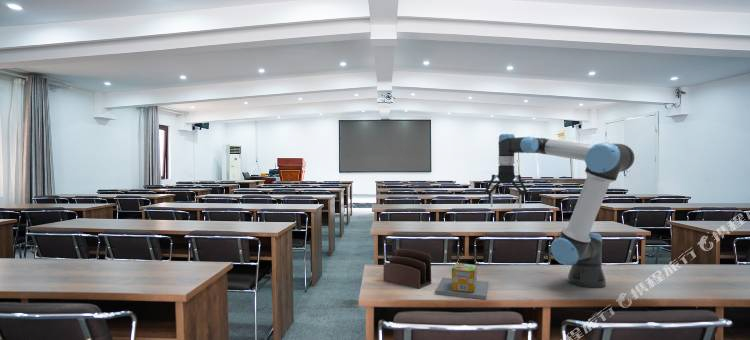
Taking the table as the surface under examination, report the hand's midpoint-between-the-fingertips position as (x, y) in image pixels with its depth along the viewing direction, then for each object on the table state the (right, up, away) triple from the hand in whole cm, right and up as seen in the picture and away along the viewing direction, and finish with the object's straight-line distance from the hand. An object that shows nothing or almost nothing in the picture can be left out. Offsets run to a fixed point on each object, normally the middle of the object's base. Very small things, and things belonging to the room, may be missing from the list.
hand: (505, 207), depth 201 cm
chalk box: (-30, -26, -39) cm, 56 cm away
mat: (-28, -32, -30) cm, 52 cm away
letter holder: (-51, -32, -20) cm, 64 cm away
